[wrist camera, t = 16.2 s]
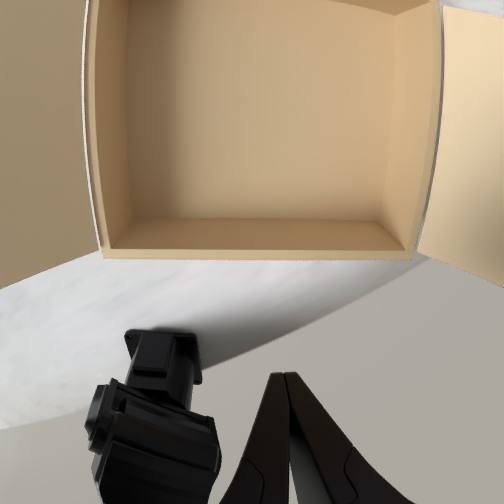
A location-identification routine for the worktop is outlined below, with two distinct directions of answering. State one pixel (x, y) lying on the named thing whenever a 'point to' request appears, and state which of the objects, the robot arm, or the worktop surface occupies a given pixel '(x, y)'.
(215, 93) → the carton
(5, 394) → the worktop surface
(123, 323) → the worktop surface
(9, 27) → the flap
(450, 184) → the flap
